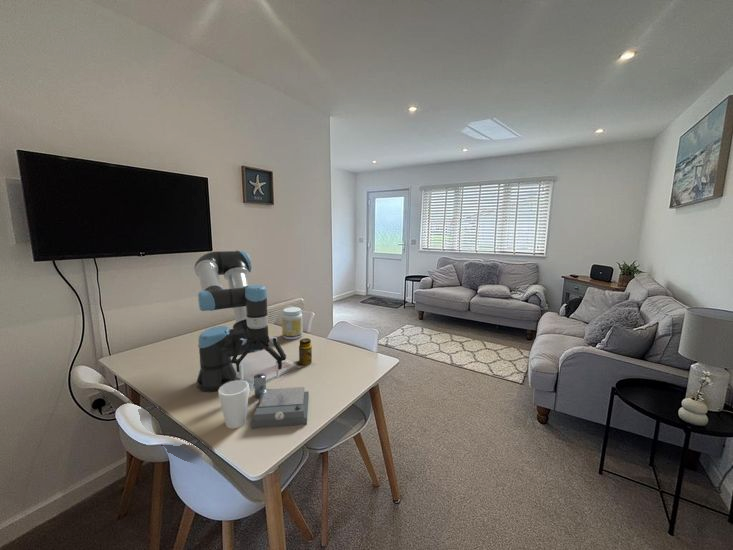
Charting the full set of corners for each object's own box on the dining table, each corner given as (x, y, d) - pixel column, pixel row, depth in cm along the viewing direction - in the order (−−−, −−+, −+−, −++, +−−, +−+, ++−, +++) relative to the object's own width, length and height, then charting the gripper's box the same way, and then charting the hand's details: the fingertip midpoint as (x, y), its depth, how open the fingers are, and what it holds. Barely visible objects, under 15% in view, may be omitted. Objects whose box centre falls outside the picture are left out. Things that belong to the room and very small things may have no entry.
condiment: (314, 364, 143) (314, 341, 141) (298, 368, 139) (297, 344, 137) (308, 358, 149) (308, 336, 147) (292, 362, 145) (292, 339, 143)
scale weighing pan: (258, 410, 102) (258, 406, 101) (264, 393, 112) (264, 389, 112) (303, 407, 104) (302, 403, 104) (304, 390, 115) (304, 386, 114)
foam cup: (256, 418, 103) (255, 384, 101) (235, 435, 94) (232, 398, 92) (237, 410, 107) (235, 377, 104) (214, 426, 98) (211, 390, 96)
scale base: (251, 428, 98) (251, 413, 97) (261, 400, 113) (260, 387, 112) (306, 424, 100) (306, 409, 99) (308, 397, 116) (308, 384, 115)
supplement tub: (287, 331, 185) (286, 306, 182) (305, 333, 183) (305, 307, 181) (278, 339, 173) (278, 311, 170) (298, 340, 172) (298, 313, 169)
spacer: (253, 398, 114) (252, 379, 113) (256, 392, 119) (255, 373, 117) (265, 397, 115) (264, 378, 114) (267, 391, 119) (266, 372, 118)
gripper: (219, 330, 106) (223, 385, 110) (290, 328, 110) (291, 380, 114) (226, 324, 114) (229, 375, 117) (292, 321, 118) (293, 371, 121)
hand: (260, 378), depth 115 cm, fingers open, 13 cm apart
